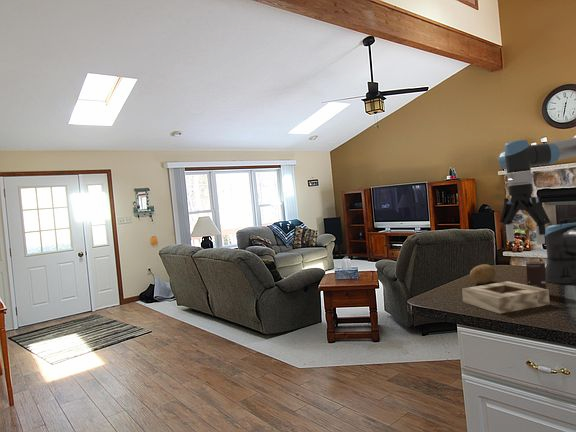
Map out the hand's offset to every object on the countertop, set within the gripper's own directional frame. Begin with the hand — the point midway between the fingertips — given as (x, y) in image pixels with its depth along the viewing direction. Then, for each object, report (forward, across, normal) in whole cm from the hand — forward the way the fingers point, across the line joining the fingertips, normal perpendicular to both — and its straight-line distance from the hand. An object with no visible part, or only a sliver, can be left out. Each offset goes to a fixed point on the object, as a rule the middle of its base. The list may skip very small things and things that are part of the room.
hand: (525, 242), depth 153 cm
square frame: (+19, +3, -14) cm, 24 cm away
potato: (+20, -27, +2) cm, 34 cm away
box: (+20, 0, +3) cm, 20 cm away
